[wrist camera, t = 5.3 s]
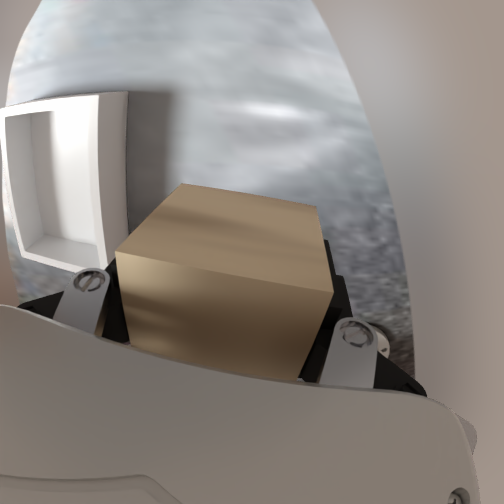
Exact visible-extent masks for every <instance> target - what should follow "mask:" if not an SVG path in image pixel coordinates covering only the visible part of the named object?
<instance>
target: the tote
mask: <svg viewBox="0 0 504 504" xmlns="http://www.w3.org/2000/svg"><path fill="white" fill-rule="evenodd" d="M127 105H128V91H119V92H100V93H86V94H75V95H66V96H58V97H51V98H44V99H38V100H32V101H27V102H23V103H19V104H15V105H11V106H8V107H4V108H1V109H0V136H1V150H2V160H3V169H4V176H5V183H6V189H7V195H8V201H9V206H10V211H11V216H12V220H13V225H14V229H15V233H16V237H17V241H18V245H19V248H20V252H21V255H22V257H25V258H28V259H31V260H34V261H38V262H41V263H44V264H48V265H51V266H54V267H58V268H61V269H65V270H69V271H72V272H76V273H77V272H79V271H81V270H83V269H87V268H99V269H102V270H105V268H106V267H107V266H108V265H109V264H110V263H111V261H112V260H113V259H114V258H115V257H116V256H115V250H116V249H117V248H118V247H119V246H120V245H121V244H122V243H123V242H124V241H125V240H126V239H127V237H128V236H129V233H128V218H127V197H126V125H127Z"/></svg>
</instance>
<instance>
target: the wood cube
mask: <svg viewBox="0 0 504 504" xmlns="http://www.w3.org/2000/svg"><path fill="white" fill-rule="evenodd" d="M115 256H116V264H117V272H118V278H119V285H120V291H121V297H122V303H123V309H124V314H125V319H126V324H127V329H128V334H129V339H130V343H131V347H135V348H138V349H142V350H145V351H149V352H153V353H156V354H160V355H164V356H168V357H172V358H176V359H180V360H184V361H188V362H192V363H197V364H201V365H206V366H210V367H215V368H220V369H225V370H230V371H236V372H241V373H247V374H252V375H258V376H264V377H271V378H278V379H285V380H292V381H296V380H297V378H298V375H299V373H300V371H301V369H302V367H303V365H304V363H305V360H306V358H307V356H308V354H309V351H310V349H311V347H312V345H313V342H314V340H315V338H316V335H317V333H318V331H319V328H320V326H321V323H322V321H323V319H324V316H325V314H326V311H327V309H328V306H329V304H330V301H331V299H332V296H333V293H334V290H333V285H332V280H331V275H330V269H329V264H328V259H327V255H326V250H325V245H324V240H323V236H322V231H321V227H320V223H319V218H318V214H317V210H316V206H312V205H307V204H302V203H296V202H291V201H286V200H281V199H275V198H270V197H264V196H259V195H253V194H247V193H241V192H235V191H229V190H223V189H216V188H210V187H203V186H196V185H189V184H180V185H179V186H178V187H177V188H176V189H175V190H174V191H173V192H172V193H171V194H170V195H169V196H168V197H167V198H166V199H165V200H164V201H163V202H162V203H161V204H160V205H159V206H158V207H157V208H156V209H155V210H154V211H153V212H152V213H151V214H150V215H149V216H148V217H147V218H146V219H145V220H144V221H143V222H142V223H141V224H140V225H139V226H138V227H137V228H136V229H135V230H134V231H133V232H132V233H131V234H130V235H129V236H128V237H127V239H126V240H125V241H124V242H123V243H122V244H121V245H120V246H119V247H118V248H117V249H116V250H115Z"/></svg>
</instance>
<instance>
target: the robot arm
mask: <svg viewBox="0 0 504 504" xmlns="http://www.w3.org/2000/svg"><path fill="white" fill-rule="evenodd" d="M323 240H324V239H323ZM324 245H325V250H326V255H327V259H328V264H329V269H330V275H331V280H332V285H333V290H334V293H333V296H332V299H331V301H330V304H329V306H328V309H327V311H326V314H325V316H324V319H323V321H322V323H321V326H320V328H319V331H318V333H317V335H316V338H315V340H314V342H313V345H312V347H311V349H310V351H309V354H308V356H307V358H306V360H305V363H304V365H303V367H302V369H301V371H300V373H299V375H298V378H302V379H303V380H304V381H305V382H300V381H292V380H285V379H278V378H271V377H264V376H258V375H252V374H247V373H241V372H236V371H230V370H225V369H220V368H215V367H210V366H206V365H201V364H197V363H192V362H188V361H184V360H180V359H176V358H172V357H168V356H164V355H160V354H156V353H153V352H149V351H145V350H142V349H138V348H135V347H131V346H128V345H125V344H123V343H126V342H128V343H130V339H129V334H128V329H127V324H126V319H125V314H124V309H123V303H122V297H121V291H120V285H119V278H118V272H117V264H116V257H115V258H114V259H113V260H112V261H111V263H110V264H109V265H108V266H107V267H106V268H105V270H102V269H99V268H87V269H83V270H81V271H79V272H77V273H76V274H74V275H73V276H72V278H71V279H70V281H69V283H68V285H67V287H66V289H65V291H63V292H59V293H56V294H52V295H49V296H46V297H42V298H39V299H35V300H32V301H29V302H25V303H23V304H21V305H19V306H18V307H13V306H8V305H0V504H480V495H479V487H478V480H477V476H476V470H475V466H474V461H473V457H472V455H473V452H474V449H475V445H476V442H477V434H476V430H475V429H474V427H473V425H471V424H470V423H469V422H468V421H466V420H465V419H463V418H461V417H460V416H458V415H457V414H455V413H454V412H453V411H452V410H451V409H450V408H448V407H447V406H445V405H444V404H442V403H440V402H438V401H435V400H433V399H430V398H427V394H426V392H425V390H424V388H423V387H422V386H421V385H420V384H419V383H418V382H417V381H416V380H414V379H413V378H412V377H410V376H409V375H408V374H407V373H405V372H404V371H403V370H402V369H400V368H399V367H398V366H396V365H395V364H394V363H393V362H391V361H390V360H389V359H388V356H389V353H390V345H389V342H388V339H387V337H386V335H385V334H384V333H383V332H382V331H381V330H380V329H378V328H377V327H375V326H372V325H369V324H368V323H367V322H365V321H363V320H361V319H357V318H353V315H352V311H351V306H350V302H349V297H348V293H347V289H346V285H345V281H344V278H343V276H340V275H336V273H335V269H334V264H333V260H332V255H331V251H330V247H329V243H328V240H324Z"/></svg>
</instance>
